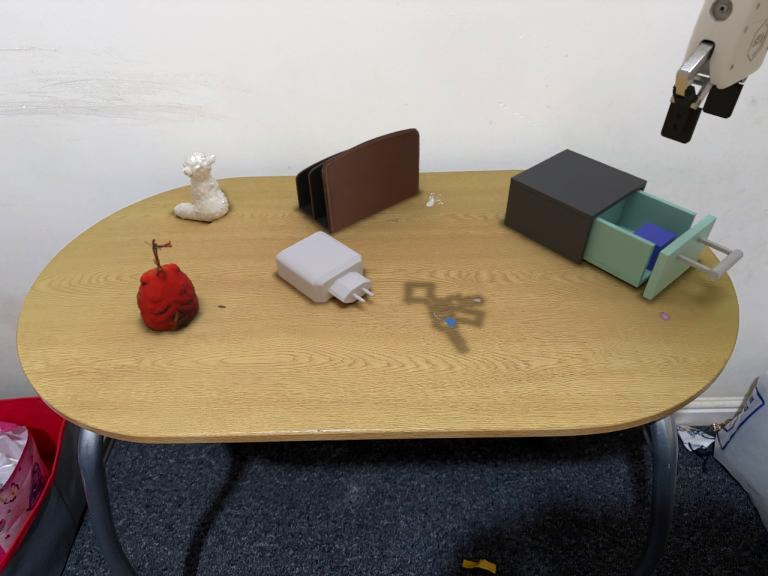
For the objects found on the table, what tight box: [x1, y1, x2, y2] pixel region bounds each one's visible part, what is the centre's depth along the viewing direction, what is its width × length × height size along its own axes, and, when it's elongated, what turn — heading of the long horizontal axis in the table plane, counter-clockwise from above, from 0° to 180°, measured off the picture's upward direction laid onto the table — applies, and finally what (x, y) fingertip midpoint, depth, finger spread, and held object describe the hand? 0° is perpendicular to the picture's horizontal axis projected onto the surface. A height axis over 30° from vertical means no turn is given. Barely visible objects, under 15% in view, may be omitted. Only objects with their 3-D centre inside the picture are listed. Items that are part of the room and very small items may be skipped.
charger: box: [275, 230, 375, 304], centre depth 78 cm, size 5×9×15 cm
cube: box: [633, 222, 676, 271], centre depth 78 cm, size 4×4×4 cm
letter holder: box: [295, 127, 421, 234], centre depth 92 cm, size 10×20×14 cm, turn 129°
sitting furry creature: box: [173, 151, 230, 223], centre depth 91 cm, size 10×9×12 cm
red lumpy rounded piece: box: [136, 238, 200, 332], centre depth 70 cm, size 8×7×15 cm
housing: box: [503, 148, 648, 266], centre depth 86 cm, size 15×15×10 cm
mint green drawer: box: [582, 190, 744, 301], centre depth 77 cm, size 19×13×8 cm
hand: (695, 126), depth 62 cm, fingers open, 9 cm apart
